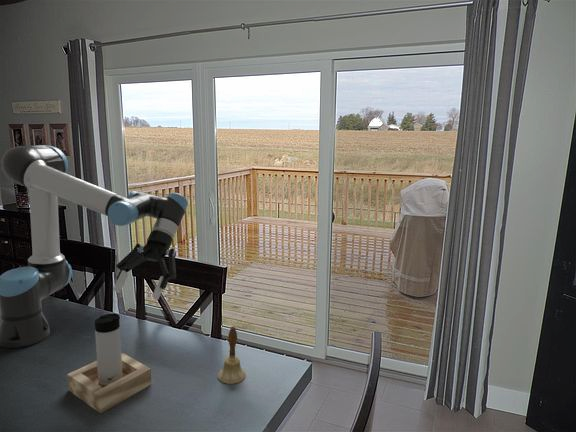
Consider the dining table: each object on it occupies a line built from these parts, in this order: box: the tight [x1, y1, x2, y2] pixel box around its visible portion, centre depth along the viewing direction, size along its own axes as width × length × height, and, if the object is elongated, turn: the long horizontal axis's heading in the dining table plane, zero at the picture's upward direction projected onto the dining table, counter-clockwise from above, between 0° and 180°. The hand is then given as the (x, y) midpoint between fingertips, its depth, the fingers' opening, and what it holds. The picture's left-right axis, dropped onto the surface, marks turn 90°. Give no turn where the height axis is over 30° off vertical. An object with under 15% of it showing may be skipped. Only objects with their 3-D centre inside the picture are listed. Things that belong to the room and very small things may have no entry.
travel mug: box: [94, 313, 123, 387], centre depth 112 cm, size 6×7×20 cm
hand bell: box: [217, 326, 246, 385], centre depth 120 cm, size 8×8×16 cm
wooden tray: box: [67, 351, 152, 415], centre depth 113 cm, size 16×16×5 cm
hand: (135, 294), depth 122 cm, fingers open, 13 cm apart
